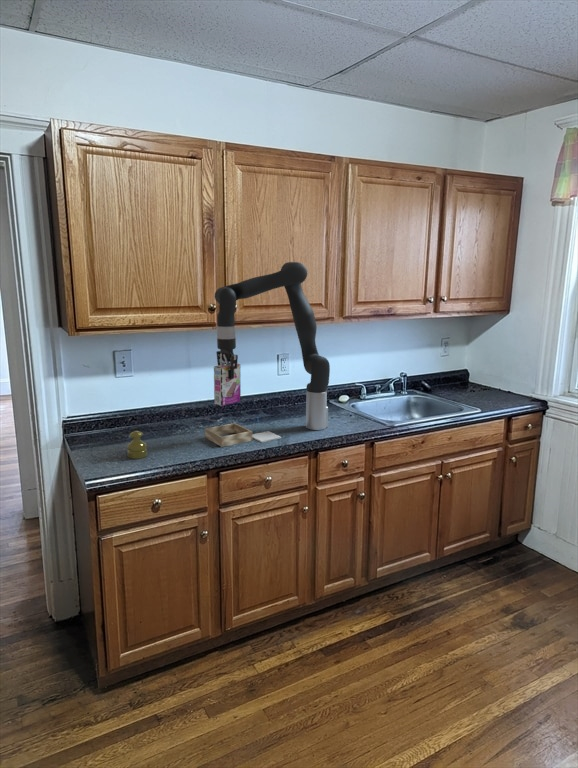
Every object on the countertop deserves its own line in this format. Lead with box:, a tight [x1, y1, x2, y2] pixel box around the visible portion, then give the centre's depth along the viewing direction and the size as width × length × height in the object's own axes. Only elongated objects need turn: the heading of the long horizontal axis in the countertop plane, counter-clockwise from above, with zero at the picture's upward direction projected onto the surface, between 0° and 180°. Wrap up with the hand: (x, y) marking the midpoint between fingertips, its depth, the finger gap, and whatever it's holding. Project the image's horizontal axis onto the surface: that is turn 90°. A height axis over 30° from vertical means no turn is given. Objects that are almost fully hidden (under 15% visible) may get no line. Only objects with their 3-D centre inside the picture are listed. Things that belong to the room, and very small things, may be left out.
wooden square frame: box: [204, 422, 253, 448], centre depth 224 cm, size 15×15×4 cm
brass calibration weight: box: [126, 430, 148, 460], centre depth 203 cm, size 7×7×10 cm
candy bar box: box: [213, 363, 242, 407], centre depth 219 cm, size 11×5×16 cm, turn 141°
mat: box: [252, 430, 282, 443], centre depth 227 cm, size 10×10×1 cm
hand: (227, 377), depth 218 cm, fingers closed on candy bar box, 5 cm apart
